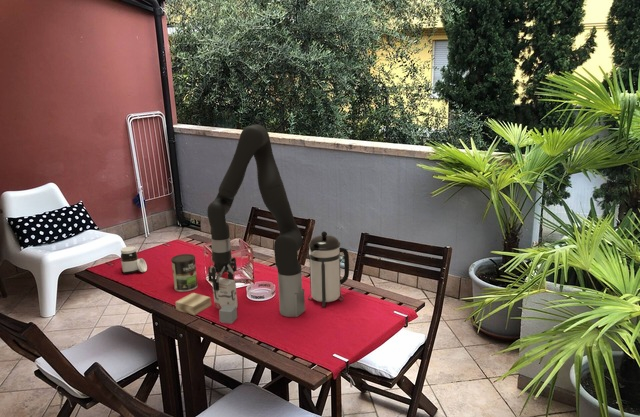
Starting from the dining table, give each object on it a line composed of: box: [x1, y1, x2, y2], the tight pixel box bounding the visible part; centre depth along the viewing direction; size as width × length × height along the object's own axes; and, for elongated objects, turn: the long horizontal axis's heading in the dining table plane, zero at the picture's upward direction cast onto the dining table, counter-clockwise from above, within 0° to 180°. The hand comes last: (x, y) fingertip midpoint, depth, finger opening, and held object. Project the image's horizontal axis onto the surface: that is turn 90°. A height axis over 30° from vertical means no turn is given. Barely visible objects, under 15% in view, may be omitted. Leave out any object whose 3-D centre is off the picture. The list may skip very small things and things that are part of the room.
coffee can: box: [170, 253, 199, 293], centre depth 228 cm, size 10×10×14 cm
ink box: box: [211, 277, 239, 310], centre depth 207 cm, size 9×5×12 cm, turn 62°
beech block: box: [174, 292, 212, 316], centre depth 209 cm, size 10×10×4 cm
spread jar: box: [120, 246, 148, 275], centre depth 249 cm, size 12×11×12 cm
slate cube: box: [218, 305, 238, 325], centre depth 197 cm, size 5×5×5 cm
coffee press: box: [307, 231, 350, 308], centre depth 210 cm, size 17×16×30 cm
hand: (223, 286), depth 206 cm, fingers open, 8 cm apart
